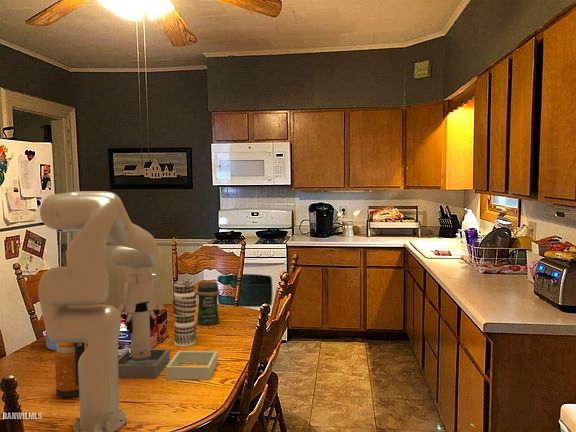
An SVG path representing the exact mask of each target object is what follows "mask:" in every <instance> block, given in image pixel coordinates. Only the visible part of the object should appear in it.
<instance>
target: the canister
mask: <svg viewBox="0 0 576 432" xmlns="http://www.w3.org/2000/svg"><path fill="white" fill-rule="evenodd" d="M87 347H88V346H87V344H86V343H58V344H57V351H55V352H54V365H55V366H54V367H55V368H54V369H55V371H54V372H55V388H56V389H55V392H56V395H57V396H59V397H65V398H70V397H71V398H72V397H76V396H79V374H78V361H79V358H80V356H81V354H82V353H83V352H84V351H85V350H86V348H87Z"/></svg>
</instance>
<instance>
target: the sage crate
mask: <svg viewBox="0 0 576 432" xmlns="http://www.w3.org/2000/svg"><path fill="white" fill-rule="evenodd" d="M218 354H219V353H218V351H216V350H215V351H211V350H203V351H202V350H200V351H199V350H177V352H176V353H175V354H174V356H173V357H172V358H171V359H170V361H169V362H168V363H167V365H166V366H165V370H166V371H165V372H166V374H165V375H166V380H190V381H191V380H196V381H197V380H201V381H203V380H205V381H207V380H209V381H210V379H211V378H212V376H213V374H214V371H215V370H216V367H217V365H218V363H219V362H218V361H219V359H218V358H219V355H218ZM181 364H207V365H206V366H205V365H203V366H202V365H201V366H200V365H181Z"/></svg>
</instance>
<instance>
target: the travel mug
mask: <svg viewBox="0 0 576 432" xmlns="http://www.w3.org/2000/svg"><path fill="white" fill-rule="evenodd" d="M146 303H149V301H147V302H145V303H140V304H136V308H135V309H136V310H135V312H134V313H133V314H132V317H131V322H132V333H131V334H130V349H131V359H132V360H134V361H144V360H147V359H149V358H150V357H151V349H152V348H151V347H152V346H151V330H150V312H149V311H148V309H147V308H148V307H147V304H146Z"/></svg>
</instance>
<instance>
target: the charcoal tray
mask: <svg viewBox="0 0 576 432" xmlns="http://www.w3.org/2000/svg"><path fill="white" fill-rule="evenodd" d="M170 351H171V349H170V348H151V357H150V358H149V359H147V360H144V361H134V360H129V350H125V351H124V352H123V353H122V354H121V355H119V356H118V372H119V379H157V378H158V377H159V375H160V374H161V372H162V371H163V370H164V369H165V368H166V367H167V365H168V364H169V363H170V361H171V352H170Z"/></svg>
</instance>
